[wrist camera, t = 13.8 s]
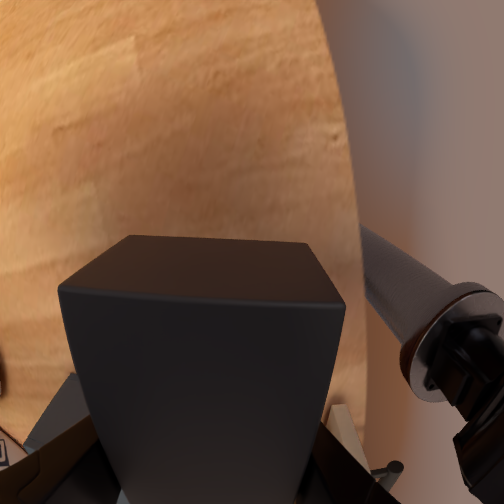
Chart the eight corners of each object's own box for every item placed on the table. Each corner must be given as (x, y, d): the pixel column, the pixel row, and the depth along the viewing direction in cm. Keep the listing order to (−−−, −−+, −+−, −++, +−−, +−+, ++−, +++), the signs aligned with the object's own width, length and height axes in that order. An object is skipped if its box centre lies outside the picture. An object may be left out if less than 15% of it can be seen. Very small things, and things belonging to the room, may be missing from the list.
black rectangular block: (307, 242, 8) (349, 303, 4) (274, 474, 10) (278, 545, 7) (127, 233, 8) (54, 285, 4) (162, 466, 10) (146, 534, 7)
